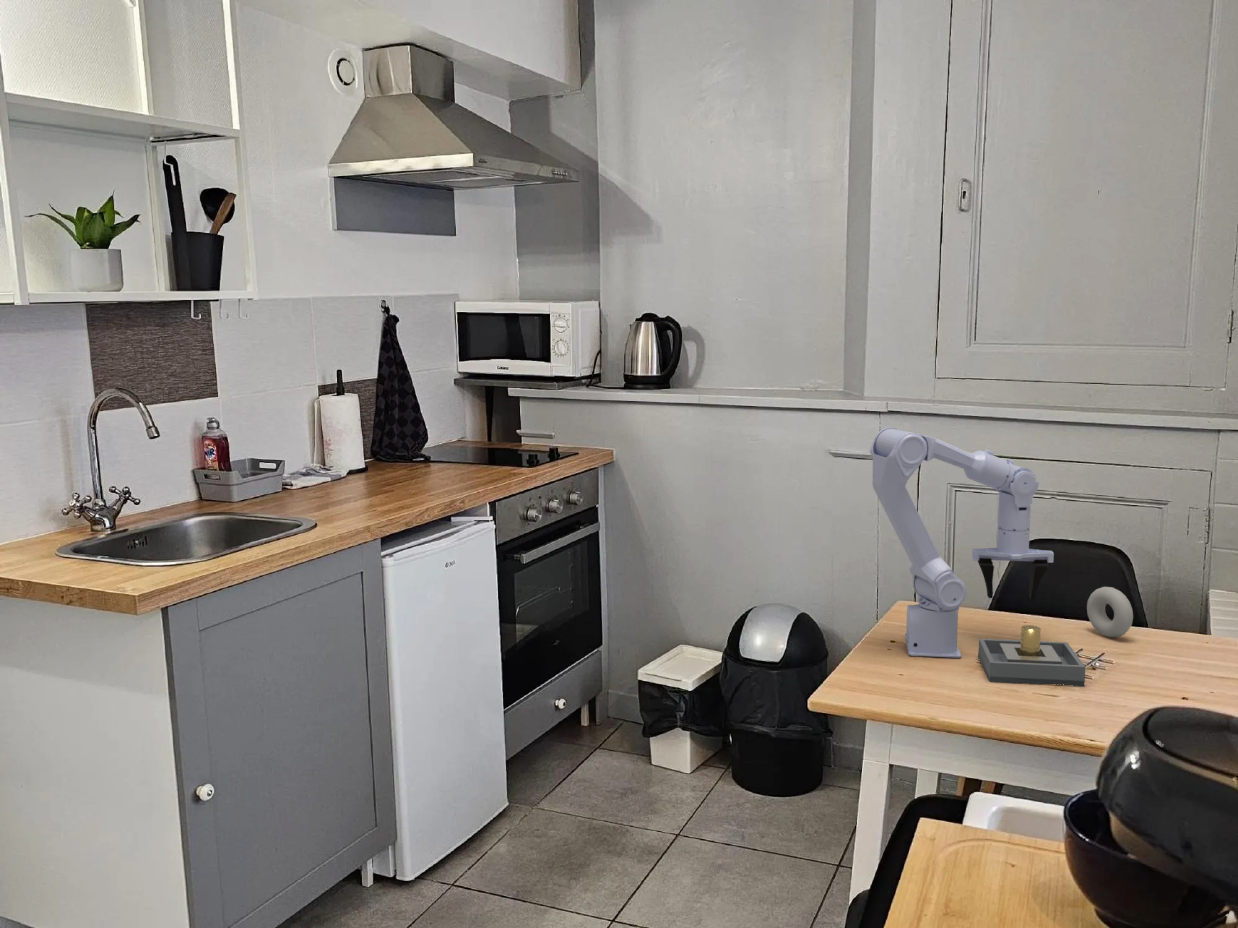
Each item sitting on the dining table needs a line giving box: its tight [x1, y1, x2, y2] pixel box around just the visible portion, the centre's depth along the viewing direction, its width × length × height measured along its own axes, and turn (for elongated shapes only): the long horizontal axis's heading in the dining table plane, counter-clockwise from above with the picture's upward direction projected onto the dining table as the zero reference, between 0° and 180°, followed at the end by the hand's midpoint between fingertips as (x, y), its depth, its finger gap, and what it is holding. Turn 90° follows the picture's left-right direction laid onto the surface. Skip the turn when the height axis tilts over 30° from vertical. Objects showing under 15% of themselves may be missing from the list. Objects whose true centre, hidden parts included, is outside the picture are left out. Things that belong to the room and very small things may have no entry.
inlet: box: [999, 643, 1062, 664], centre depth 190 cm, size 9×9×2 cm
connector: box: [1020, 624, 1041, 657], centre depth 189 cm, size 3×3×7 cm
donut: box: [1086, 586, 1134, 638], centre depth 208 cm, size 10×4×10 cm, turn 23°
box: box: [977, 638, 1086, 687], centre depth 190 cm, size 16×14×4 cm
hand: (1010, 597), depth 203 cm, fingers open, 7 cm apart
